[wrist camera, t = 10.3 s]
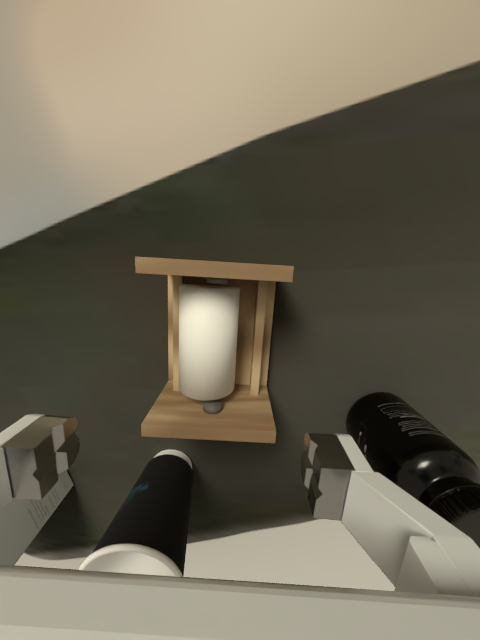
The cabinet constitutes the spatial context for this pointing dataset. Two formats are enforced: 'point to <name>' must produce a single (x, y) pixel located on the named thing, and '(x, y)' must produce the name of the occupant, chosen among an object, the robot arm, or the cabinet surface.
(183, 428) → the holder
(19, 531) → the supplement box
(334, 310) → the cabinet surface
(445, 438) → the supplement bottle
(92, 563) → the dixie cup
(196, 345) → the paper roll
